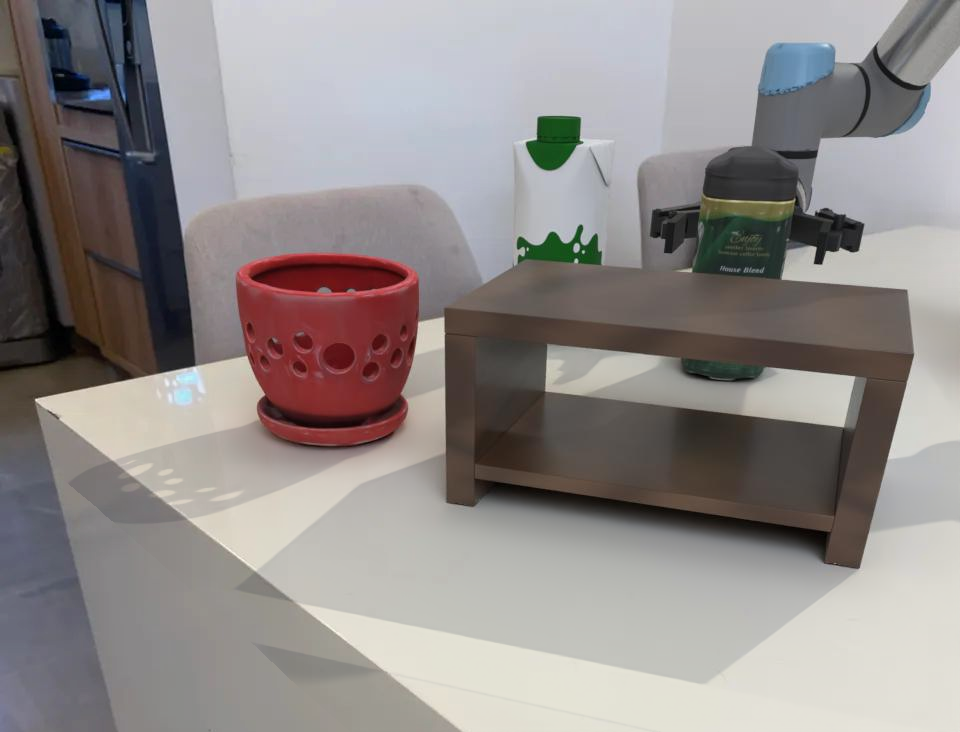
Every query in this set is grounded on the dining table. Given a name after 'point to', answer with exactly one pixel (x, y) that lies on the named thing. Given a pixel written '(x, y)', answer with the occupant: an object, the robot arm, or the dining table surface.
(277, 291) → the flower pot
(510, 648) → the dining table surface
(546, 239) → the milk carton
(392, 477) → the dining table surface
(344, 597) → the dining table surface
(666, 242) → the robot arm
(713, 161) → the coffee jar
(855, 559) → the shelf
